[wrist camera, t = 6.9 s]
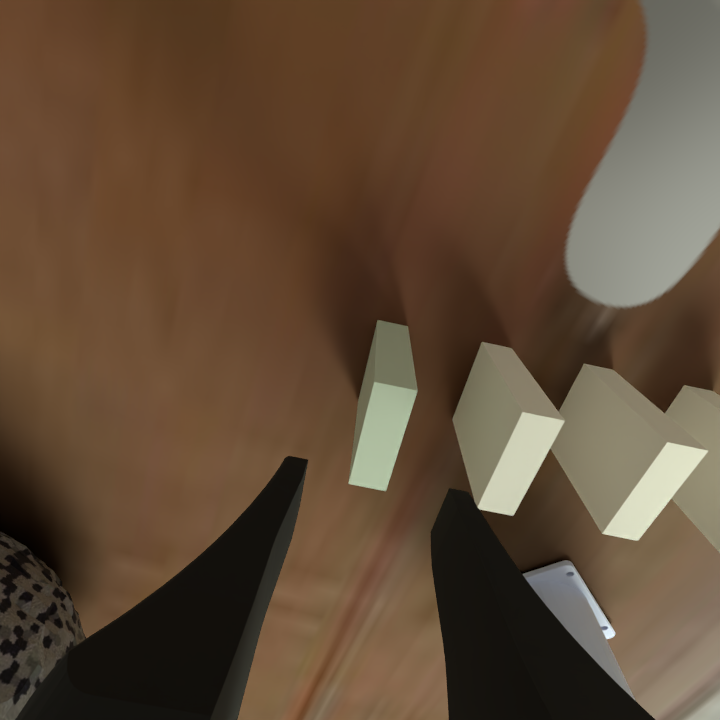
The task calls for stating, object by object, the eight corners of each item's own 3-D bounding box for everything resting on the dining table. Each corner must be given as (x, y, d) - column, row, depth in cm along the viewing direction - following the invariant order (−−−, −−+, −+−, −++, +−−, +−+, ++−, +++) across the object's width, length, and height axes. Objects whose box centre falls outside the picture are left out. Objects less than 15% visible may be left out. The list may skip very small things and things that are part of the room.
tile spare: (407, 326, 19) (417, 390, 14) (385, 406, 22) (385, 491, 16) (377, 319, 19) (374, 381, 14) (358, 400, 22) (348, 483, 16)
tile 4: (511, 348, 20) (565, 420, 14) (479, 425, 22) (513, 516, 16) (481, 341, 20) (522, 411, 14) (452, 419, 22) (476, 508, 16)
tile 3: (613, 369, 20) (708, 450, 14) (570, 443, 22) (637, 540, 16) (583, 363, 20) (667, 442, 14) (544, 438, 22) (601, 533, 16)
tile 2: (712, 391, 20) (847, 479, 14) (661, 462, 22) (759, 565, 16) (684, 384, 20) (807, 471, 14) (635, 457, 22) (723, 557, 16)
